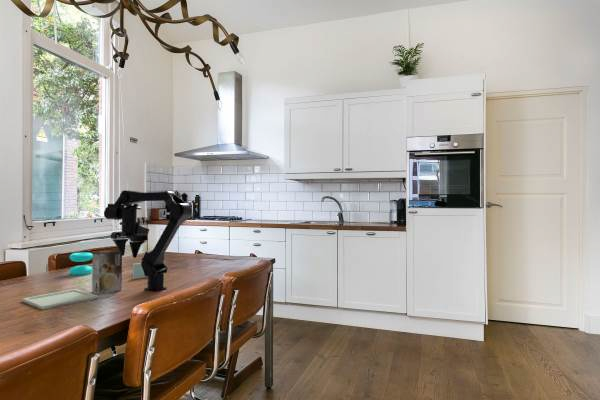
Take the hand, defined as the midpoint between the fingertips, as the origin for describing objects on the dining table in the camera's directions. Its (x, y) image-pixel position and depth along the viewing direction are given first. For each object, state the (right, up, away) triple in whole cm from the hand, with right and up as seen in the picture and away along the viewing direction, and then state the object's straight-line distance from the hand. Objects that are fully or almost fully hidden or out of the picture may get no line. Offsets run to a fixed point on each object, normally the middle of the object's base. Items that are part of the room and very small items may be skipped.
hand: (128, 256), depth 157 cm
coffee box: (-5, -13, -8) cm, 16 cm away
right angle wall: (-6, -14, +24) cm, 28 cm away
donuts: (-35, -12, +24) cm, 44 cm away
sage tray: (-15, -13, -22) cm, 29 cm away
